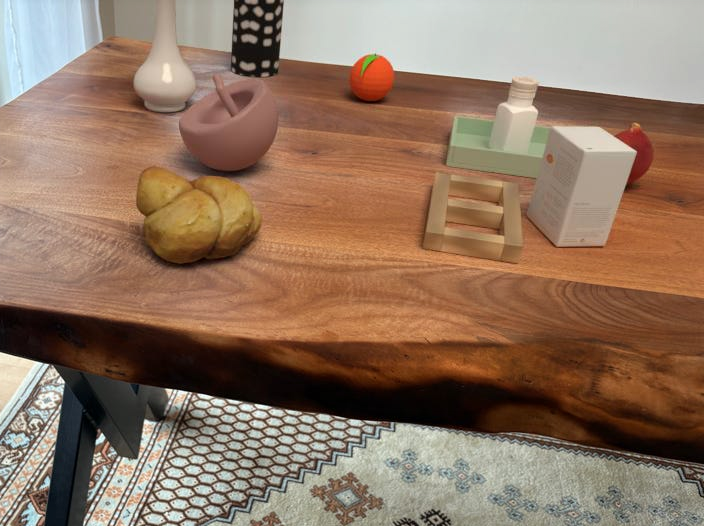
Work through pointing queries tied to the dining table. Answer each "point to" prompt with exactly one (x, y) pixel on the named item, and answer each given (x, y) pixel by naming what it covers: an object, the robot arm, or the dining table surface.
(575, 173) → the small box
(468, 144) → the tray
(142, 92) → the flower vase
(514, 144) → the pepper shaker
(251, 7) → the spotted tube
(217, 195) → the bread roll
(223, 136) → the mortar and pestle
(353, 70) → the clementine
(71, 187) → the dining table surface
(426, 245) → the spice stand
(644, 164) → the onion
